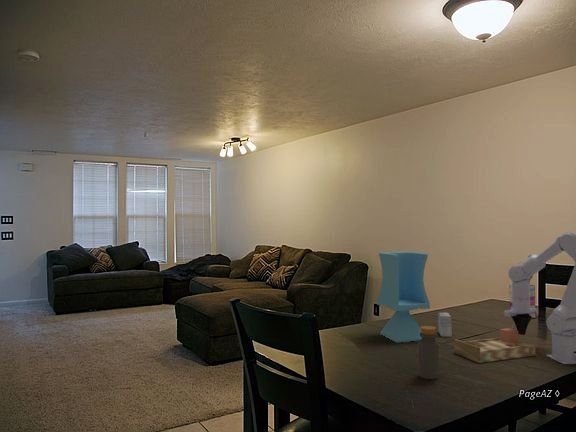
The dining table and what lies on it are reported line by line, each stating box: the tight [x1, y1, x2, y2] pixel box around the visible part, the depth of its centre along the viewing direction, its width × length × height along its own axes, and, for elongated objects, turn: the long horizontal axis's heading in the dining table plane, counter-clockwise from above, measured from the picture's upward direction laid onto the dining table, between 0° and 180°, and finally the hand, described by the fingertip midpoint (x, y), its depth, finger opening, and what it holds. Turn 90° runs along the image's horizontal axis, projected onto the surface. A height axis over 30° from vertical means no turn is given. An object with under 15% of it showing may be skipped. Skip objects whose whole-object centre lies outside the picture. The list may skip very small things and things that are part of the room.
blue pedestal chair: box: [376, 251, 431, 344], centre depth 185 cm, size 16×16×35 cm
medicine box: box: [437, 312, 453, 338], centre depth 189 cm, size 8×4×9 cm, turn 168°
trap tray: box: [453, 337, 536, 364], centre depth 160 cm, size 24×12×5 cm, turn 108°
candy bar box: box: [509, 282, 537, 319], centre depth 223 cm, size 11×5×16 cm, turn 25°
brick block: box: [499, 327, 519, 343], centre depth 166 cm, size 4×4×4 cm
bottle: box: [418, 325, 440, 380], centre depth 138 cm, size 6×6×15 cm
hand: (521, 334), depth 168 cm, fingers closed
